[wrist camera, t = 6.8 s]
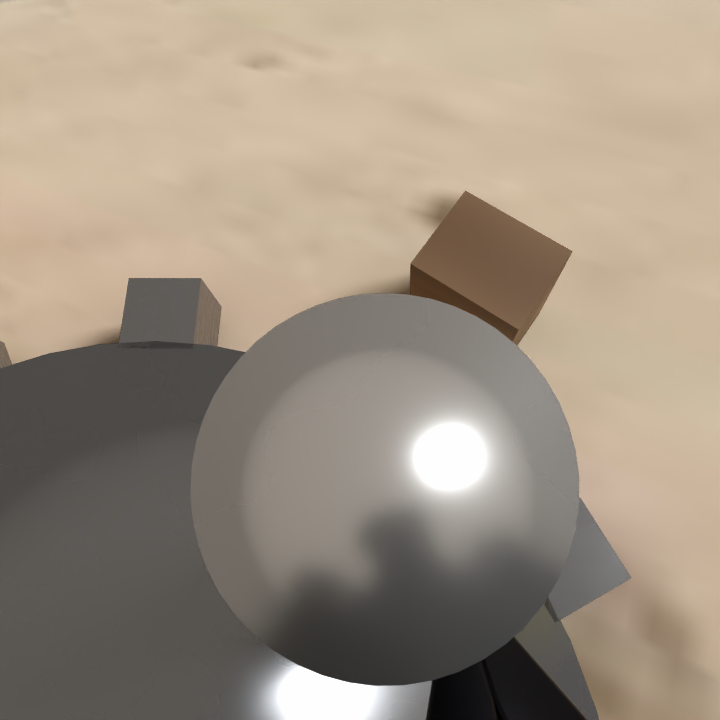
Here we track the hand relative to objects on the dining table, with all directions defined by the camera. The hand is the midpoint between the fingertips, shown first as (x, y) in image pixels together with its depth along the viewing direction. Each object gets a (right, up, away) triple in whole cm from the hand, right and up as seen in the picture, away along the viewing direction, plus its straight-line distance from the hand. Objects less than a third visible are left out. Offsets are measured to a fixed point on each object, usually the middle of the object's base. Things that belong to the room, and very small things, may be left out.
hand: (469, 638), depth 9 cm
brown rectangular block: (+2, +5, +10) cm, 12 cm away
